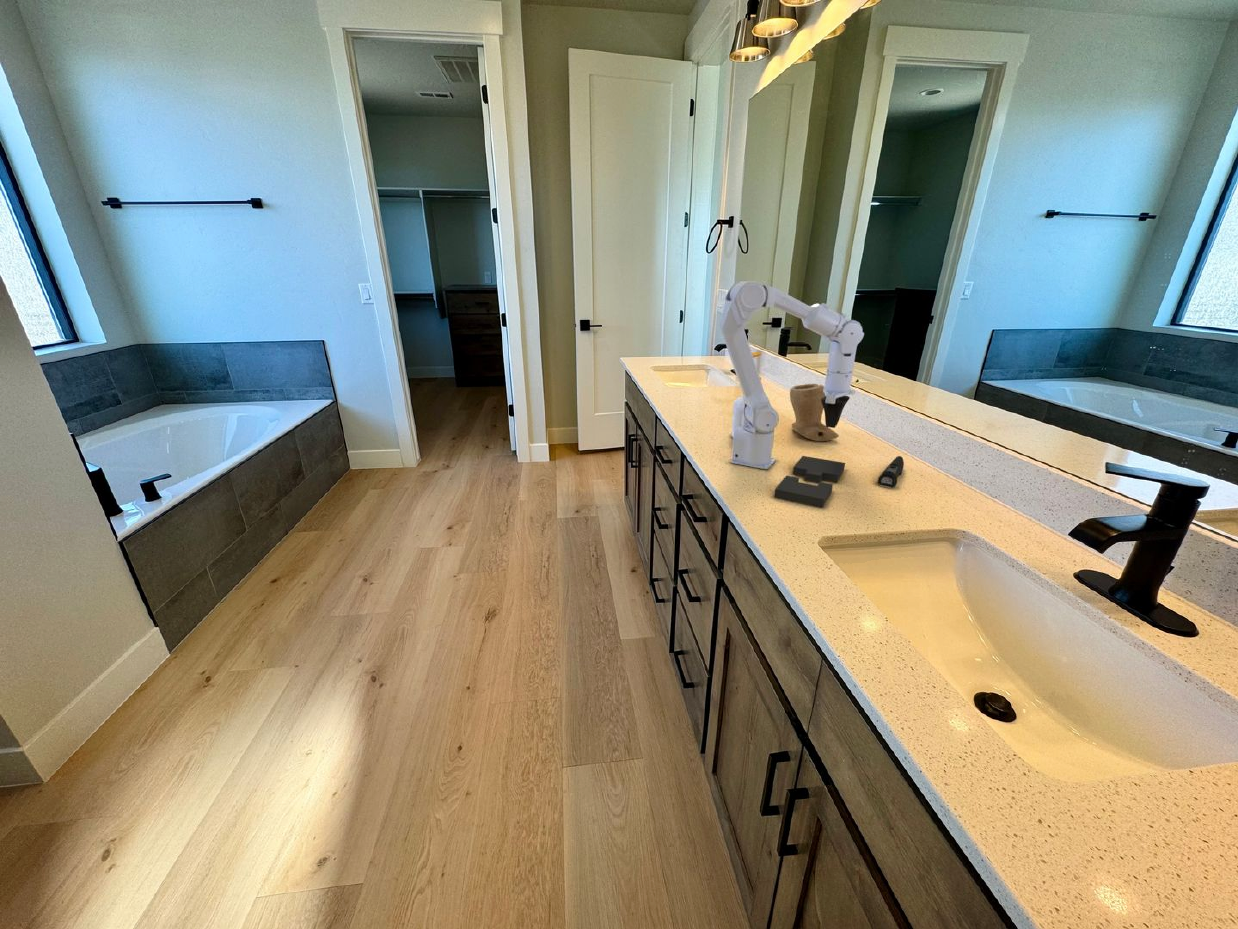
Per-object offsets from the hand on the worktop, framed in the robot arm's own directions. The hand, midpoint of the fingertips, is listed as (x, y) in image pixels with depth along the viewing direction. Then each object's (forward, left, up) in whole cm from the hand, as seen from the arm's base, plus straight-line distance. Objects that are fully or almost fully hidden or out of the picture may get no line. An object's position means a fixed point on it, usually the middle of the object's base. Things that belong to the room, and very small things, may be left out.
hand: (831, 425), depth 122 cm
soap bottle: (-24, +9, -10) cm, 27 cm away
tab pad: (0, -10, -9) cm, 14 cm away
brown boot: (-9, +20, -10) cm, 24 cm away
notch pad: (0, -24, -9) cm, 26 cm away
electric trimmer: (+15, -3, -10) cm, 18 cm away
